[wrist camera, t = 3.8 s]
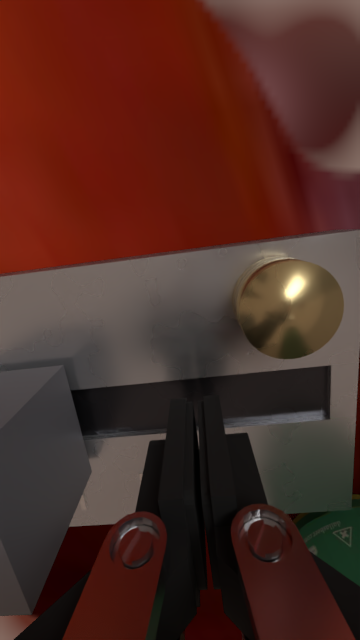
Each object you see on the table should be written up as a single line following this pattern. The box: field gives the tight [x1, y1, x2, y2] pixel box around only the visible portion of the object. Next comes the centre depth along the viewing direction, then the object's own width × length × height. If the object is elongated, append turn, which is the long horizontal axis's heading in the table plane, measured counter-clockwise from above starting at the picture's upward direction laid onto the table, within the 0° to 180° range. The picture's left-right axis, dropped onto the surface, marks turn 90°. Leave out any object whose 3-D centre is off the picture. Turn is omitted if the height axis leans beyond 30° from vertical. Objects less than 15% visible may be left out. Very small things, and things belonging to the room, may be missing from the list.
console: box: [0, 229, 360, 527], centre depth 12 cm, size 24×12×4 cm, turn 97°
